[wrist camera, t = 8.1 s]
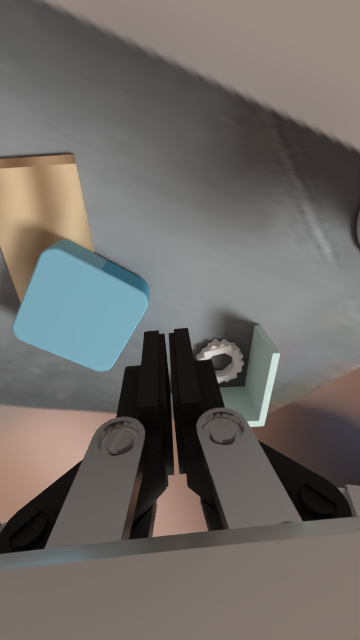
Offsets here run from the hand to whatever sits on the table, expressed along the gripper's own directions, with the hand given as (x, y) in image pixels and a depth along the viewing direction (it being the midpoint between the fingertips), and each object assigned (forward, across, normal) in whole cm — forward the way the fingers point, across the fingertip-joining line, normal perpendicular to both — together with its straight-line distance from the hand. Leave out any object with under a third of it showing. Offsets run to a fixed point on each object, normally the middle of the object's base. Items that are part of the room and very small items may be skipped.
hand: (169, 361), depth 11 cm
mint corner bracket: (+25, -6, +18) cm, 32 cm away
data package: (+22, +6, +2) cm, 22 cm away
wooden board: (+24, +13, 0) cm, 27 cm away
